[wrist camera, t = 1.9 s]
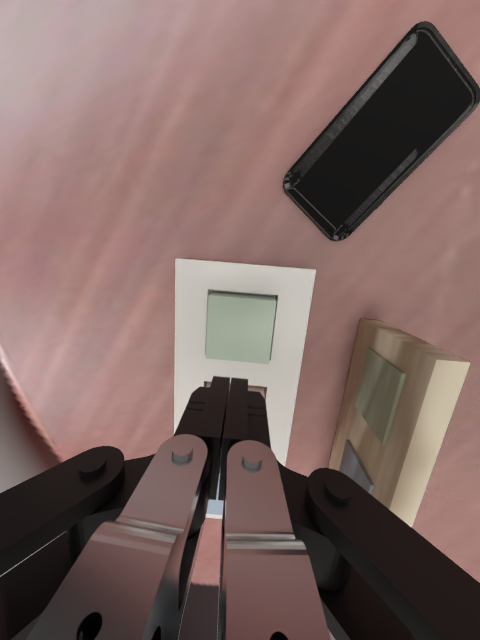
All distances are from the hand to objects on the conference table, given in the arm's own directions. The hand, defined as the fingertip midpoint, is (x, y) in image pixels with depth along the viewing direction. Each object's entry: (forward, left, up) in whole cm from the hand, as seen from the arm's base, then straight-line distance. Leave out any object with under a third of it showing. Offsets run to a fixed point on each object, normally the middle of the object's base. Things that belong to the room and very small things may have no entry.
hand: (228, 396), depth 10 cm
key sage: (0, 0, -13) cm, 13 cm away
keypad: (0, +9, -14) cm, 17 cm away
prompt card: (-13, +9, -14) cm, 21 cm away
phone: (-10, -16, -15) cm, 24 cm away
